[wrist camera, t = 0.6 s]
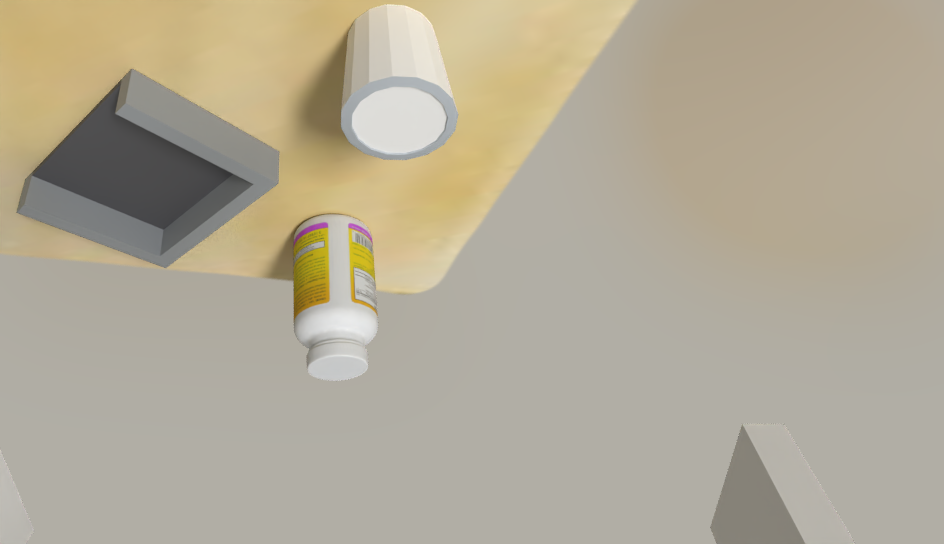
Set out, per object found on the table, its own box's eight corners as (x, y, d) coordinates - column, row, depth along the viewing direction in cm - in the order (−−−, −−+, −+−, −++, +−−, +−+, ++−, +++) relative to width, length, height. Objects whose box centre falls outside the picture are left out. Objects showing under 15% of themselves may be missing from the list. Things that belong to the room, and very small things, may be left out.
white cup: (426, 91, 48) (436, 169, 45) (327, 71, 46) (329, 152, 42) (461, 10, 43) (475, 90, 40) (350, -17, 41) (355, 66, 37)
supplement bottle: (288, 251, 62) (286, 385, 56) (299, 206, 57) (299, 347, 51) (363, 257, 65) (370, 387, 58) (380, 214, 60) (389, 351, 53)
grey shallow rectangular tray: (25, 179, 51) (16, 212, 49) (132, 68, 44) (125, 103, 42) (169, 237, 59) (165, 268, 57) (279, 151, 52) (278, 183, 50)
